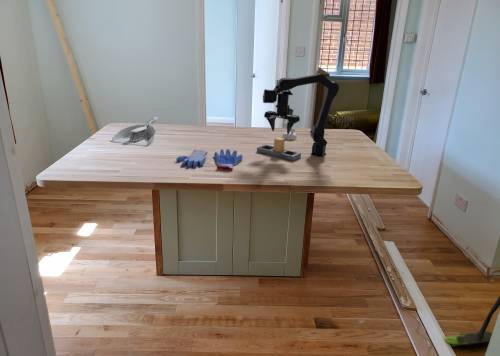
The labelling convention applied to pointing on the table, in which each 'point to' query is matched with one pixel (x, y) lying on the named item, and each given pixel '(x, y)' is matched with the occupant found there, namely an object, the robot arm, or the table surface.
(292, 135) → the wall hook
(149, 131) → the dustpan and brush
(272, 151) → the rail
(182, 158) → the pair of gloves
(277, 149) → the orange peg
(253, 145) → the table surface
